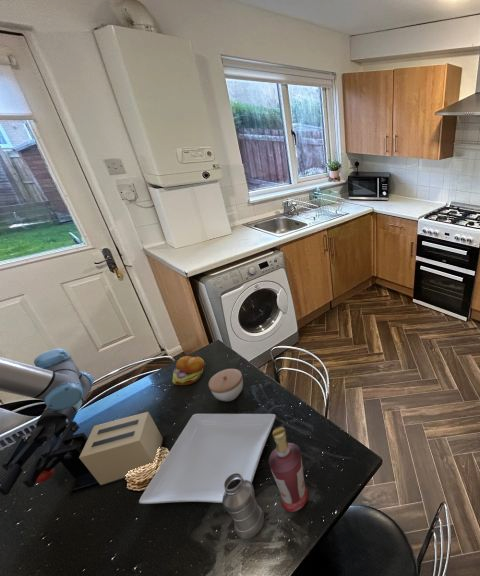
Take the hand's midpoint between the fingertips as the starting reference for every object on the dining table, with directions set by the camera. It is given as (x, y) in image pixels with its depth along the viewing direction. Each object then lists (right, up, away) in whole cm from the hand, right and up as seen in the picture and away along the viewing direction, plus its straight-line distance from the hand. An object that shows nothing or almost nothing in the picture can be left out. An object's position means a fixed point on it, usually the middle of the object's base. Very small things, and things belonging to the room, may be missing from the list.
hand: (15, 488), depth 76 cm
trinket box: (+34, +10, +37) cm, 52 cm away
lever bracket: (+8, -4, +12) cm, 15 cm away
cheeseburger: (+15, +14, +45) cm, 49 cm away
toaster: (+17, -2, +15) cm, 23 cm away
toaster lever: (+4, +2, +8) cm, 9 cm away
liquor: (+67, -8, +7) cm, 68 cm away
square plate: (+41, -2, +16) cm, 44 cm away
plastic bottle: (+58, -10, +1) cm, 59 cm away
